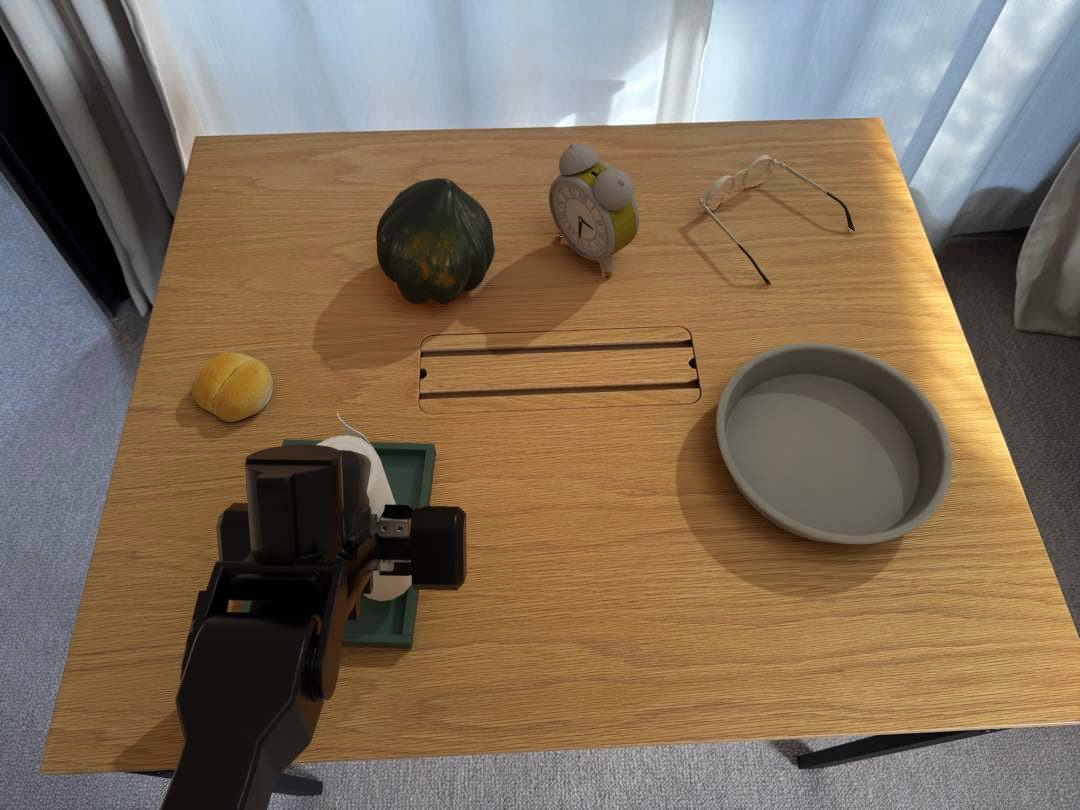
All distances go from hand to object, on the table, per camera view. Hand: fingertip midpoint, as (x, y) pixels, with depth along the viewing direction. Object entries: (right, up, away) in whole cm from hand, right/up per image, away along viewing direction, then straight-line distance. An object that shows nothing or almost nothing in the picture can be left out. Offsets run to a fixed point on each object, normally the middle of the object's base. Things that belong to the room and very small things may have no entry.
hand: (369, 509), depth 67 cm
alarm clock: (+22, +30, +34) cm, 51 cm away
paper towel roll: (0, -7, +8) cm, 10 cm away
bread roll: (-21, +11, +23) cm, 32 cm away
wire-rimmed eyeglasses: (+46, +33, +37) cm, 68 cm away
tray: (-5, -5, +13) cm, 14 cm away
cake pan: (+46, +4, +18) cm, 50 cm away
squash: (+2, +26, +32) cm, 41 cm away
